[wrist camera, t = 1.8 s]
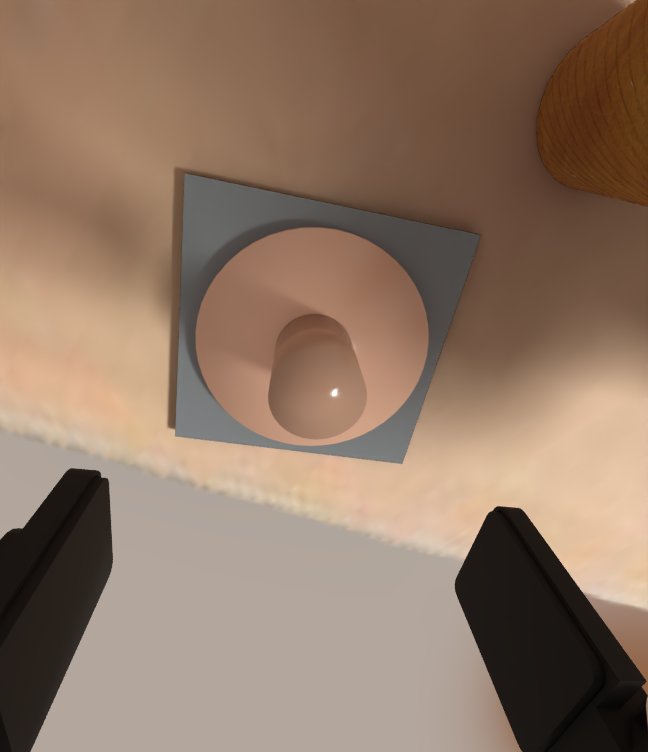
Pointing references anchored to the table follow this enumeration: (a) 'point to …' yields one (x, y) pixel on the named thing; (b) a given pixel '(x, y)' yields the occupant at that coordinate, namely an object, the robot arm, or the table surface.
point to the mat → (282, 211)
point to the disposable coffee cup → (601, 111)
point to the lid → (312, 336)
